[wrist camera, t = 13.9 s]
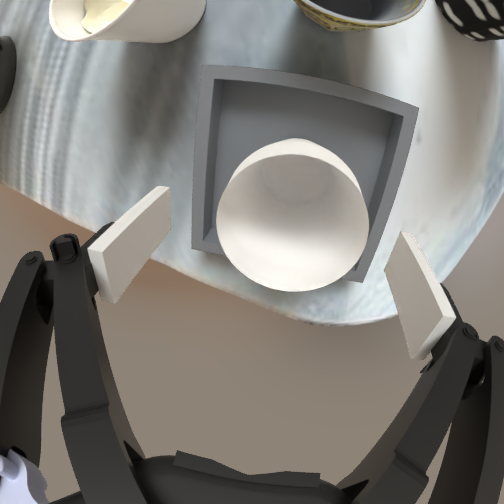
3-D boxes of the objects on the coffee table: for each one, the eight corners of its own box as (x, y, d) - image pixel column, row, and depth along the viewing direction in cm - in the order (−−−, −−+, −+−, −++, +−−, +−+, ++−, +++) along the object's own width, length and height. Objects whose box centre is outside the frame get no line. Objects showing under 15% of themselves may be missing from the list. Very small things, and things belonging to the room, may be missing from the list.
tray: (203, 230, 32) (191, 248, 29) (216, 68, 22) (201, 64, 19) (357, 261, 30) (362, 282, 27) (403, 105, 21) (419, 107, 17)
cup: (348, 209, 26) (372, 285, 16) (261, 220, 29) (236, 298, 19) (336, 119, 22) (364, 139, 12) (239, 135, 24) (193, 169, 14)
